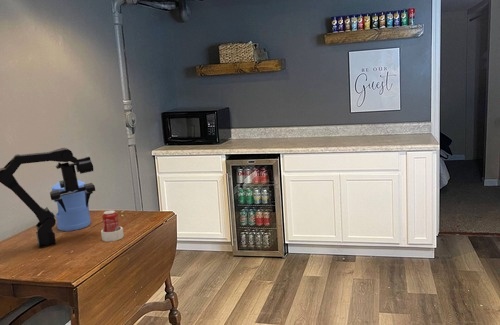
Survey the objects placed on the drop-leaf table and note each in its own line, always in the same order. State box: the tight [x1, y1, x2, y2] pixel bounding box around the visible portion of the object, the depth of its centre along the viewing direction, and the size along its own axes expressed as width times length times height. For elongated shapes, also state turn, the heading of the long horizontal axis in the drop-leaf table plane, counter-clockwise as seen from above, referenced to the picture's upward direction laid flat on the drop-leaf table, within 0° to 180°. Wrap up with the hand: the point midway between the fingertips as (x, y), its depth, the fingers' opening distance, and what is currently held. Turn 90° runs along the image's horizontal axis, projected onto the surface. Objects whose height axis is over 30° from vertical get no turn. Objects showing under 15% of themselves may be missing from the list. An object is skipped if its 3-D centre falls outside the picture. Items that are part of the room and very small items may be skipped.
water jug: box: [51, 179, 92, 232], centre depth 232 cm, size 16×16×28 cm
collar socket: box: [100, 226, 124, 243], centre depth 212 cm, size 9×9×4 cm
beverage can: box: [102, 210, 119, 232], centre depth 211 cm, size 6×6×12 cm
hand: (76, 209), depth 215 cm, fingers open, 9 cm apart
